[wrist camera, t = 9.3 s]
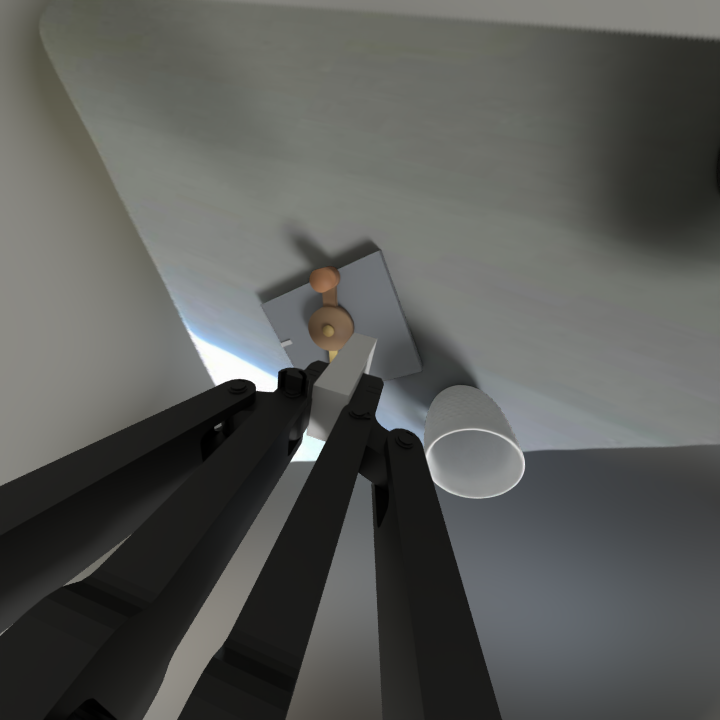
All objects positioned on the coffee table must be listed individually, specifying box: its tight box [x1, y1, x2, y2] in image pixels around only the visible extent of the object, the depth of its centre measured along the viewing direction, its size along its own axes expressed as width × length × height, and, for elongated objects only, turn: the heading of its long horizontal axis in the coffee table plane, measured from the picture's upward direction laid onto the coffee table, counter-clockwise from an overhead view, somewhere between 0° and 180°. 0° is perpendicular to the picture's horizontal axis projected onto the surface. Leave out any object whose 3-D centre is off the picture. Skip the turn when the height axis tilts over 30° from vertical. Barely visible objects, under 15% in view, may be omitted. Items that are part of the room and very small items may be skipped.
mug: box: [424, 385, 525, 498], centre depth 36 cm, size 15×11×13 cm
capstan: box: [308, 266, 355, 363], centre depth 36 cm, size 17×6×4 cm, turn 1°
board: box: [261, 250, 423, 381], centre depth 39 cm, size 20×18×2 cm
